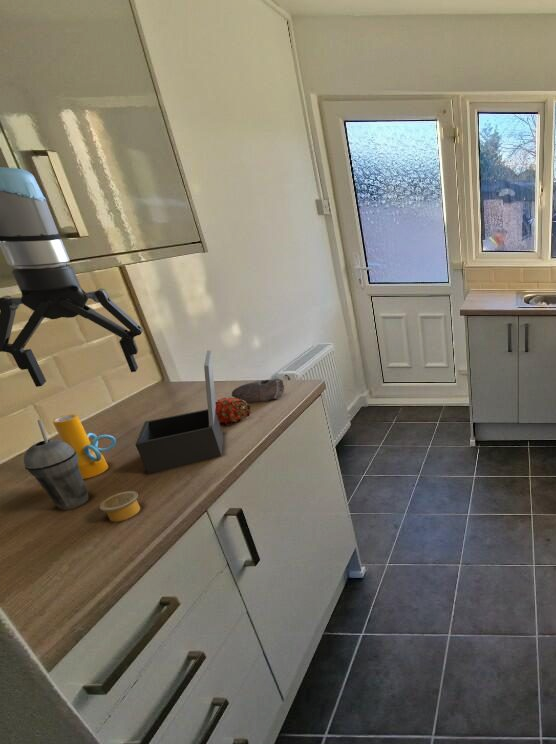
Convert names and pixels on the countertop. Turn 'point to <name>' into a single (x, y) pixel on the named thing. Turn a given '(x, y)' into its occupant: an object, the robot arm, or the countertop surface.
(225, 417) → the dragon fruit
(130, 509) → the coffee pod
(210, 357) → the pod lid
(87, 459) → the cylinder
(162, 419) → the dark grey storage bin
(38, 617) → the countertop surface
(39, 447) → the beverage cup
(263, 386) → the perforated stone tool
